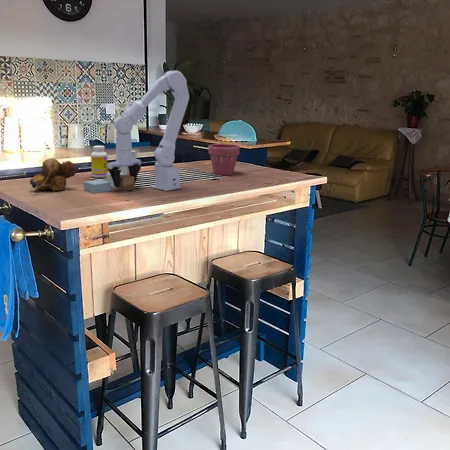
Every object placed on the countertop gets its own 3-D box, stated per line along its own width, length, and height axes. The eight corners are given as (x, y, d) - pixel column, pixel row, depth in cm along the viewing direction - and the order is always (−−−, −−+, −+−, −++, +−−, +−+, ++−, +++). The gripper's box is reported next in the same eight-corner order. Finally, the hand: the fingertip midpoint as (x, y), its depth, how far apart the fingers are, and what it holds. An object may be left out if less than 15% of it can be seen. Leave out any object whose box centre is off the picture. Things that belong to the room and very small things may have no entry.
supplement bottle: (105, 178, 211) (104, 147, 207) (90, 177, 211) (88, 147, 207) (109, 175, 217) (108, 145, 213) (94, 174, 217) (93, 145, 214)
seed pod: (83, 174, 183) (71, 156, 193) (38, 168, 173) (28, 149, 183) (73, 205, 188) (62, 185, 198) (29, 200, 178) (20, 180, 188)
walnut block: (134, 189, 192) (134, 176, 190) (124, 191, 188) (123, 178, 187) (126, 187, 195) (125, 174, 193) (115, 189, 191) (115, 176, 190)
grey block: (124, 186, 197) (124, 173, 195) (114, 188, 193) (114, 175, 192) (117, 184, 200) (116, 171, 198) (106, 186, 196) (106, 173, 195)
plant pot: (203, 171, 232) (203, 143, 229) (230, 170, 238) (231, 143, 235) (215, 177, 220) (216, 148, 216) (244, 175, 226) (245, 147, 222)
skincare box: (126, 181, 206) (125, 152, 203) (119, 179, 208) (118, 150, 205) (137, 179, 211) (136, 150, 207) (130, 177, 213) (129, 149, 210)
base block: (110, 191, 188) (110, 182, 187) (94, 194, 183) (94, 184, 182) (100, 188, 193) (100, 179, 192) (84, 190, 188) (83, 181, 187)
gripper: (132, 147, 195) (133, 181, 199) (101, 150, 184) (102, 186, 188) (144, 149, 190) (144, 184, 194) (113, 152, 180) (114, 189, 184)
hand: (124, 185), depth 191 cm, fingers open, 7 cm apart
